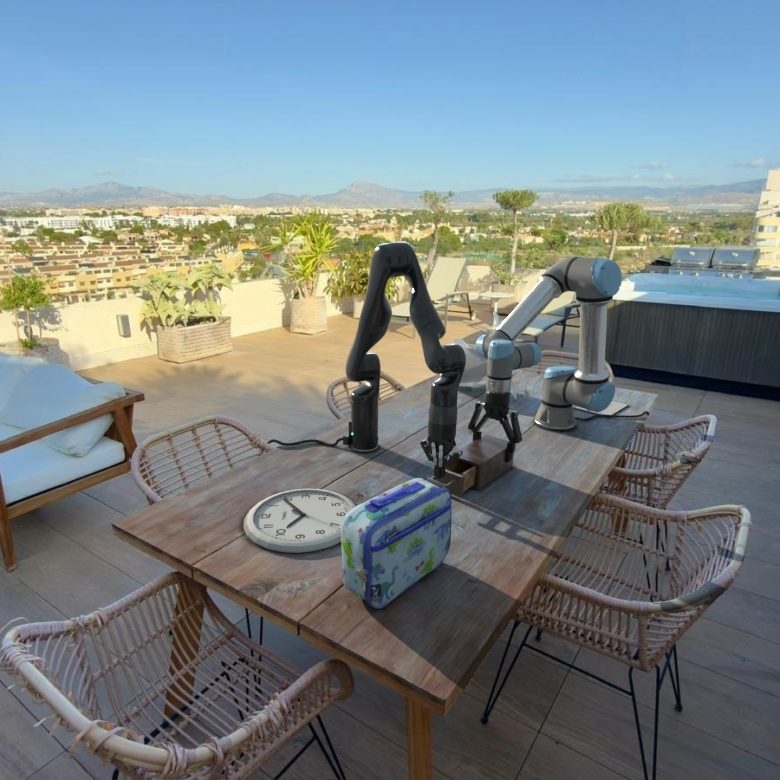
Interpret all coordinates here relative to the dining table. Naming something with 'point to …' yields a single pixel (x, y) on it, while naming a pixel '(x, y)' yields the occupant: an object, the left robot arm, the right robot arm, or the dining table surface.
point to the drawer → (456, 478)
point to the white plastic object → (483, 365)
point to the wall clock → (298, 520)
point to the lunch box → (395, 540)
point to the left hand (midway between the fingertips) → (439, 477)
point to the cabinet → (486, 458)
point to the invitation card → (608, 408)
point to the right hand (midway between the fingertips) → (492, 456)
